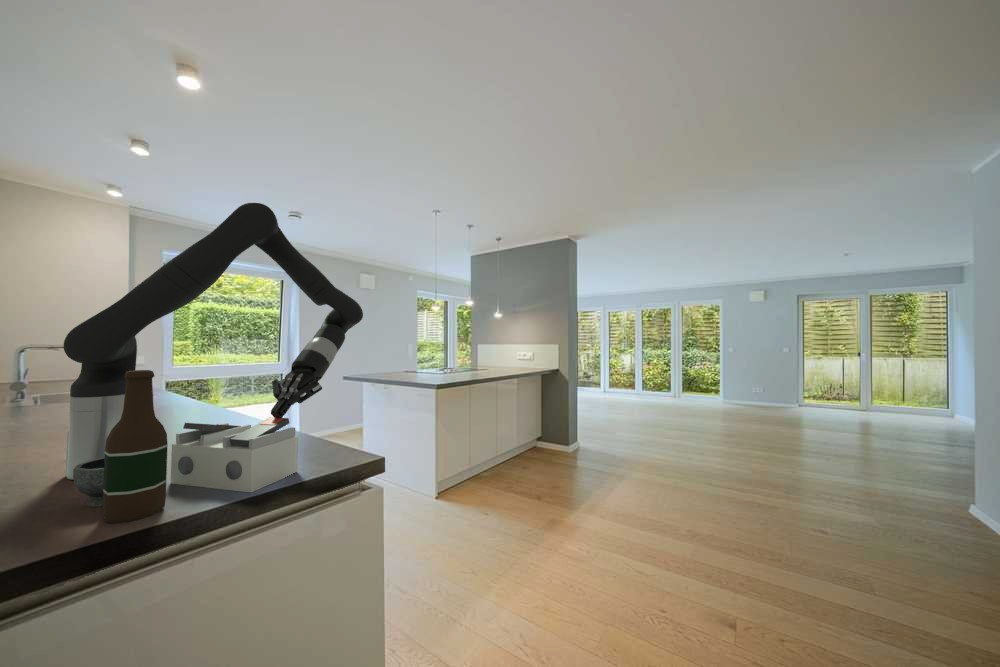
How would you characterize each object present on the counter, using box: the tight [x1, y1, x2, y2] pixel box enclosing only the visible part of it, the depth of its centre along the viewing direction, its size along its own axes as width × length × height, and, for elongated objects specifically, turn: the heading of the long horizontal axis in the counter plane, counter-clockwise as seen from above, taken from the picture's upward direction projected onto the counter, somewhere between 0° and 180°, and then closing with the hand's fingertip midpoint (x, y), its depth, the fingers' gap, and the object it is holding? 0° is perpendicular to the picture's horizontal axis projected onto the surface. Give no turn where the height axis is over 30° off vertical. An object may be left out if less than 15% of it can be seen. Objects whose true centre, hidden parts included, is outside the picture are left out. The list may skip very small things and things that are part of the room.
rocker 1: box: [183, 422, 242, 431], centre depth 82 cm, size 5×10×1 cm, turn 167°
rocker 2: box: [230, 416, 290, 446], centre depth 80 cm, size 5×10×1 cm, turn 167°
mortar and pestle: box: [73, 458, 104, 508], centre depth 70 cm, size 11×9×12 cm
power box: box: [170, 422, 299, 493], centre depth 81 cm, size 20×12×10 cm, turn 77°
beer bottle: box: [102, 369, 168, 524], centre depth 64 cm, size 8×8×24 cm
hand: (275, 415), depth 83 cm, fingers closed
